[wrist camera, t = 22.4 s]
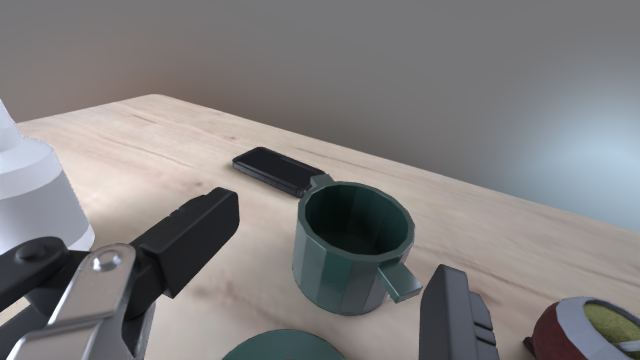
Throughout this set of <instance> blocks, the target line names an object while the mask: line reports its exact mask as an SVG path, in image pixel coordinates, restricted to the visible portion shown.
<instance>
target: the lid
mask: <svg viewBox="0 0 640 360" xmlns="http://www.w3.org/2000/svg"><path fill="white" fill-rule="evenodd" d="M222 360H346V359H345V357H344V356H343V355H342V354H341V353H340V352H339V351H338V350H337V349H336V348H335V347H333V346H332V345H331V344H329V343H328V342H326V341H325V340H323V339H321V338H319V337H318V336H316V335H313V334H310V333H308V332H304V331H299V330H291V329H283V330H274V331H268V332H265V333H262V334H259V335H257V336H254V337H252V338H250V339H248V340H246V341H245V342H243V343H241V344H240V345H238V346H237V347H236V348H234V349H233V350H232V351H230V352H229V353H228V354H227V355H226V356H225V357H224V358H223V359H222Z"/></svg>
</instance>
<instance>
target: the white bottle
mask: <svg viewBox="0 0 640 360" xmlns="http://www.w3.org/2000/svg"><path fill="white" fill-rule="evenodd" d="M46 236H53V237H58V238H60V239H62V240H63V242H64V243H65V245H66V247H67V248H68V250H78V251H88V250H89V249H90V247H91V246H92V245H93V242H94V238H95V234H94V231H93V229H92V227H91V225H90V223H89V221H88V219H87V217H86V215H85V213H84V211H83V209H82V207H81V205H80V202H79V200H78V198H77V196H76V194H75V192H74V190H73V188H72V186H71V184H70V182H69V180H68V178H67V176H66V174H65V172H64V170H63V168H62V166H61V164H60V162H59V160H58V158H57V156H56V154H55V152H54V149H53V147H52V146H51V145H50V144H48V143H46V142H44V141H42V140H38V139H33V138H28V137H23V136H22V134H21V133H20V131H19V129H18V127H17V125H16V123H15V122H14V120H12V119H11V117H10V115H9V114H8V112H7V110H6V109H5V106H4V105H3V103H2V101H1V99H0V255H1V254H3V253H5V252H6V251H8V250H10V249H12V248H14V247H15V246H17V245H19V244H21V243H24V242H26V241H29V240H31V239H35V238H39V237H46Z"/></svg>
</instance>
